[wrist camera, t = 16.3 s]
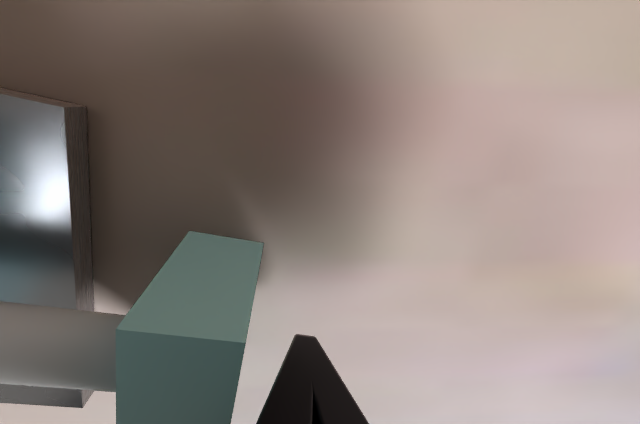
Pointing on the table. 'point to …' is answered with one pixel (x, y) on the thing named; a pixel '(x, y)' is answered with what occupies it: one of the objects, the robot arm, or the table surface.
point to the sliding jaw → (148, 338)
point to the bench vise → (44, 218)
